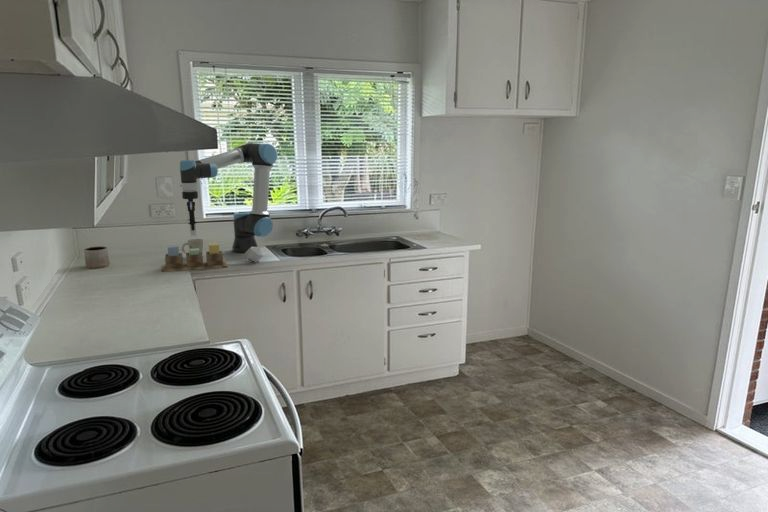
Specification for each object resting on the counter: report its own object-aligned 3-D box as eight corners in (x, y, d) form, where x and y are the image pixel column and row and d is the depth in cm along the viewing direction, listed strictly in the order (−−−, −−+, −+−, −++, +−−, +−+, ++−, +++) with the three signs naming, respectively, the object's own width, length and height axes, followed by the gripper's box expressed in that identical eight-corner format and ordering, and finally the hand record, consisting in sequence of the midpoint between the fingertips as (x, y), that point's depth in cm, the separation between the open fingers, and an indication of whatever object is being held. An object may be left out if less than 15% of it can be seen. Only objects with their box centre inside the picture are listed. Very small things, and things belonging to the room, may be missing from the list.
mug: (201, 259, 286) (200, 241, 284) (179, 258, 286) (177, 241, 284) (206, 256, 294) (205, 239, 292) (184, 255, 294) (183, 238, 292)
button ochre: (219, 255, 275) (218, 243, 274) (219, 257, 271) (218, 244, 269) (209, 256, 273) (208, 243, 272) (209, 258, 269) (208, 245, 267)
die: (266, 261, 285) (261, 246, 288) (261, 257, 276) (256, 241, 279) (252, 267, 285) (247, 251, 288) (246, 263, 276) (241, 246, 279)
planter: (81, 267, 266) (79, 249, 263) (101, 262, 275) (99, 245, 273) (94, 269, 261) (92, 251, 258) (114, 265, 270) (112, 247, 268)
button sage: (199, 261, 272) (198, 248, 271) (200, 263, 268) (199, 250, 266) (189, 261, 270) (188, 248, 269) (189, 263, 266) (188, 250, 264)
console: (225, 261, 281) (225, 249, 279) (227, 267, 269) (226, 254, 268) (163, 265, 270) (161, 253, 268) (161, 271, 258) (160, 258, 257)
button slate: (179, 258, 268) (178, 245, 267) (179, 260, 264) (178, 247, 262) (169, 258, 267) (168, 245, 265) (168, 261, 262) (167, 247, 260)
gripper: (182, 189, 265) (186, 234, 271) (181, 192, 253) (185, 238, 259) (197, 189, 268) (200, 233, 273) (197, 192, 256) (201, 237, 261)
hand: (193, 236), depth 266 cm, fingers closed
